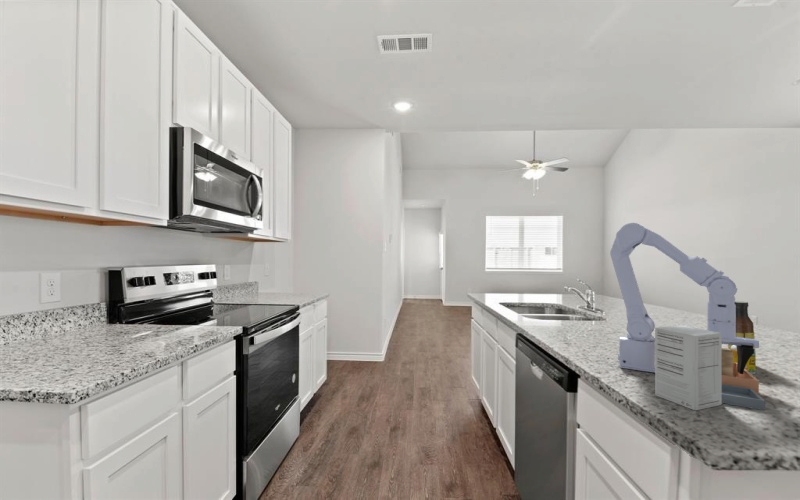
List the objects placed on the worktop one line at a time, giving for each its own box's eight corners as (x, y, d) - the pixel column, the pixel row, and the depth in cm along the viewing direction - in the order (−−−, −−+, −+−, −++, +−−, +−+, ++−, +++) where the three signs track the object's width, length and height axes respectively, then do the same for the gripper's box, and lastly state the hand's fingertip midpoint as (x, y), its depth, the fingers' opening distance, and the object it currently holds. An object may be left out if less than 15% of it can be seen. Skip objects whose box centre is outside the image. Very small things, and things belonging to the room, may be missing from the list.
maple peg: (713, 383, 96) (713, 349, 96) (709, 378, 100) (709, 346, 100) (732, 386, 94) (733, 352, 94) (728, 381, 98) (728, 348, 98)
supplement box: (680, 390, 91) (680, 324, 91) (723, 405, 82) (723, 332, 82) (653, 395, 88) (653, 326, 88) (695, 411, 79) (695, 335, 79)
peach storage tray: (702, 388, 92) (702, 372, 92) (690, 370, 107) (690, 356, 107) (758, 397, 87) (758, 380, 87) (737, 376, 101) (737, 362, 101)
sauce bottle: (752, 363, 114) (752, 301, 114) (758, 368, 109) (758, 303, 109) (725, 359, 118) (725, 299, 118) (729, 364, 112) (730, 301, 113)
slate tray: (714, 401, 84) (714, 392, 84) (705, 389, 91) (706, 381, 91) (764, 410, 80) (764, 400, 80) (751, 396, 87) (751, 388, 87)
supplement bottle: (733, 367, 109) (733, 336, 109) (757, 372, 105) (758, 340, 105) (728, 370, 106) (728, 338, 107) (752, 376, 102) (752, 342, 102)
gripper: (690, 320, 97) (690, 369, 97) (763, 325, 90) (763, 379, 90) (685, 316, 103) (685, 363, 103) (753, 321, 96) (753, 371, 96)
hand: (721, 370), depth 97 cm, fingers open, 7 cm apart
